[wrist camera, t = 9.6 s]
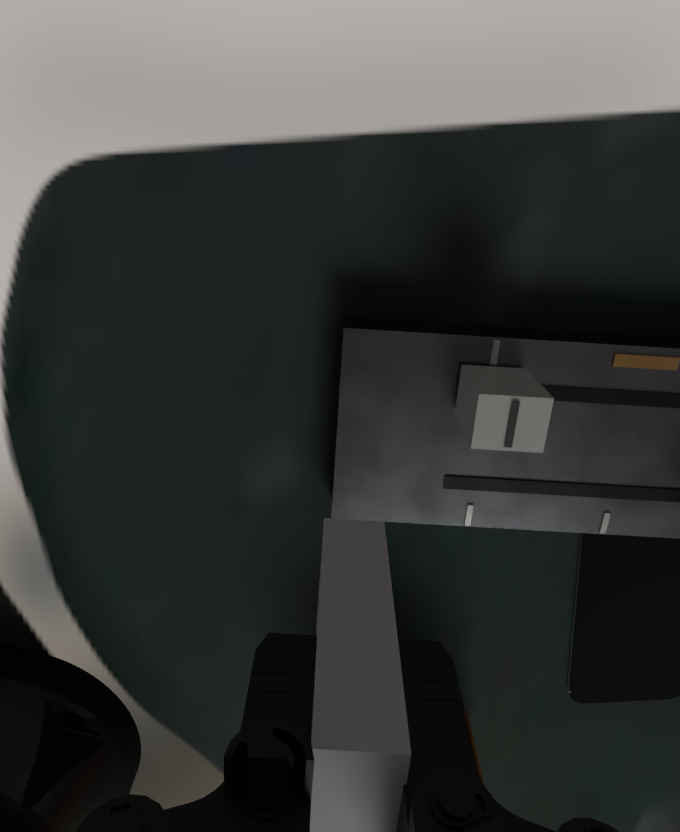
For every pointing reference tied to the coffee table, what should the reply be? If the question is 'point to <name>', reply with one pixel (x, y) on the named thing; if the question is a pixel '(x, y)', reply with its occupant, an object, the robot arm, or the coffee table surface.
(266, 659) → the robot arm
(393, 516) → the console
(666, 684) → the smartphone
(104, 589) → the coffee table surface
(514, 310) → the coffee table surface
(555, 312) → the coffee table surface
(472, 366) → the block
